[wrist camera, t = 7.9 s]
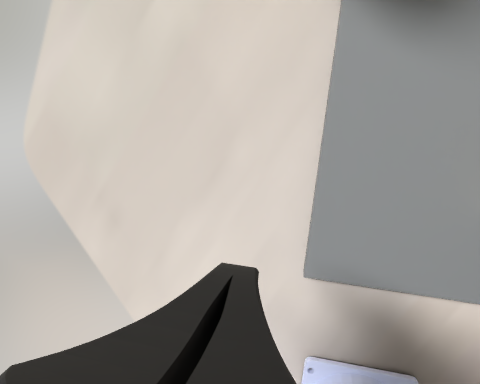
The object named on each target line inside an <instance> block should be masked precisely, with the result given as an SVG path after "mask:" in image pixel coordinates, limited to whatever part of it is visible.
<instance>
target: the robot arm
mask: <svg viewBox="0 0 480 384" xmlns="http://www.w3.org/2000/svg"><path fill="white" fill-rule="evenodd" d="M258 275H259V271H258V270H257V269H256V268H253V267H246V266H240V265H233V264H227V263H221V264H220V265H218V266H217V267H216V268H214V269H213V270H212V271H211V272H210V273H208V274H207V275H206V276H205V277H204V278H202V279H201V280H200V281H199V282H197V283H196V284H195V285H193V286H192V287H191V288H190V289H188V290H187V291H186V292H184V293H183V294H181V295H180V296H179V297H177V298H176V299H174V300H173V301H171V302H170V303H168V304H167V305H165V306H164V307H162V308H160V309H159V310H157V311H155V312H153V313H152V314H150V315H148V316H146V317H144V318H142V319H140V320H138V321H137V322H134V323H132V324H130V325H128V326H126V327H123V328H121V329H119V330H117V331H115V332H112V333H110V334H108V335H106V336H103V337H101V338H98V339H95V340H93V341H91V342H88V343H85V344H82V345H79V346H76V347H73V348H71V349H68V350H64V351H61V352H58V353H55V354H51V355H48V356H44V357H41V358H37V359H34V360H30V361H27V362H23V363H19V364H15V365H12V366H10V367H9V368H8V369H7V370H6V371H5V372H4V373H2V374H1V375H0V384H296V382H295V380H294V379H293V377H292V375H291V374H290V372H289V370H288V368H287V367H286V365H285V363H284V361H283V359H282V357H281V355H280V353H279V351H278V349H277V346H276V344H275V342H274V340H273V337H272V335H271V332H270V329H269V327H268V324H267V321H266V318H265V315H264V311H263V308H262V303H261V299H260V295H259V289H258ZM309 368H312V369H309ZM301 384H419V383H418V381H417V379H416V378H415V377H413V376H409V375H404V374H399V373H394V372H389V371H384V370H378V369H373V368H368V367H363V366H358V365H352V364H347V363H342V362H337V361H332V360H326V359H321V358H316V357H307V358H306V359H305V363H304V369H303V376H302V382H301Z"/></svg>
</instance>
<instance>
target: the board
mask: <svg viewBox="0 0 480 384" xmlns="http://www.w3.org/2000/svg"><path fill="white" fill-rule="evenodd" d="M304 277H306V278H312V279H319V280H325V281H332V282H338V283H345V284H351V285H358V286H364V287H371V288H377V289H384V290H390V291H397V292H403V293H410V294H416V295H423V296H429V297H436V298H442V299H449V300H455V301H462V302H468V303H475V304H480V0H341V8H340V15H339V22H338V29H337V36H336V43H335V50H334V58H333V65H332V72H331V79H330V86H329V93H328V100H327V107H326V115H325V122H324V129H323V136H322V143H321V150H320V157H319V165H318V172H317V179H316V186H315V193H314V200H313V207H312V214H311V222H310V229H309V236H308V243H307V250H306V257H305V264H304Z"/></svg>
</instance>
